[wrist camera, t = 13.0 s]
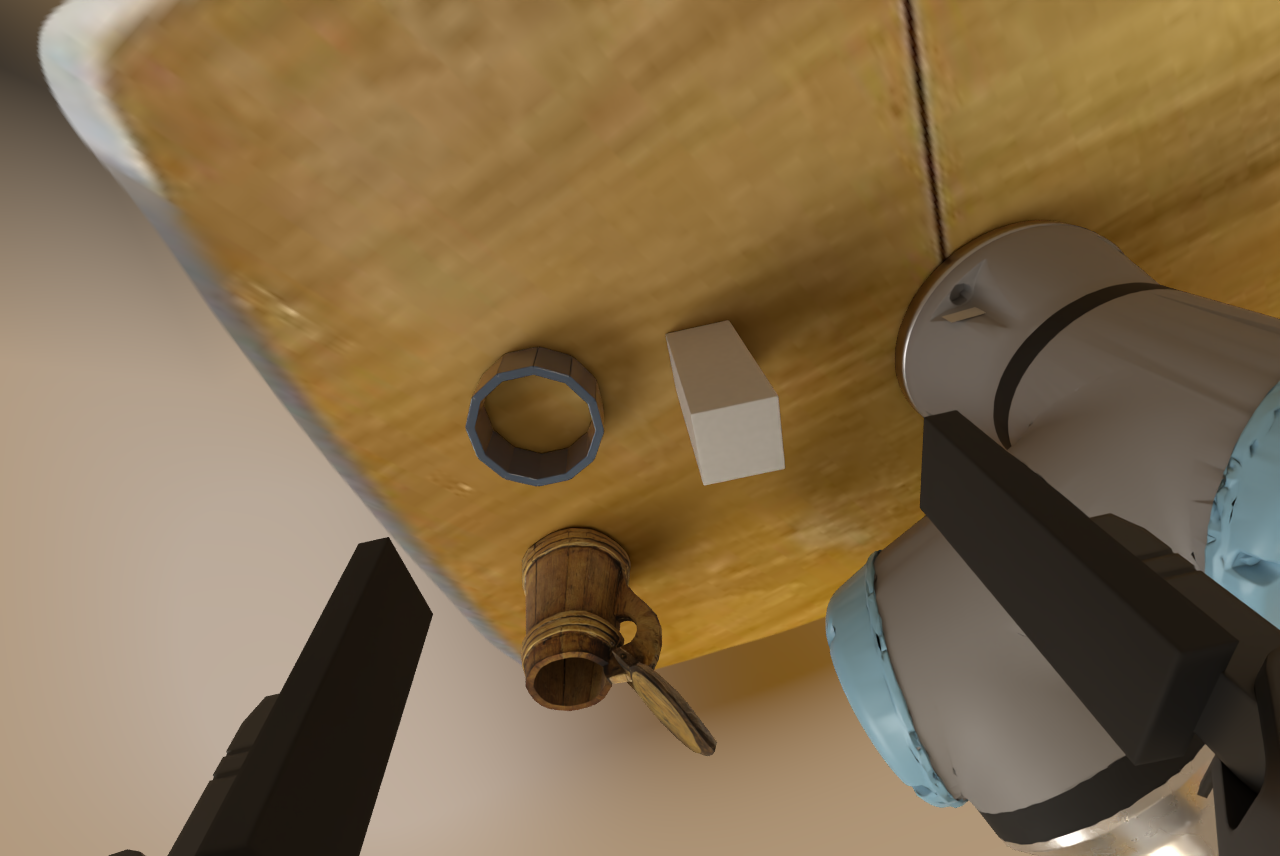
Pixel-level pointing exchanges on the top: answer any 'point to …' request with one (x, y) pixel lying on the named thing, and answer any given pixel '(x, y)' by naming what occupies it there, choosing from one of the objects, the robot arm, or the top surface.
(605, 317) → the top surface
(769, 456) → the grey block
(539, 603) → the wooden mug
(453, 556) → the top surface
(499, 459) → the faceted metal ring
